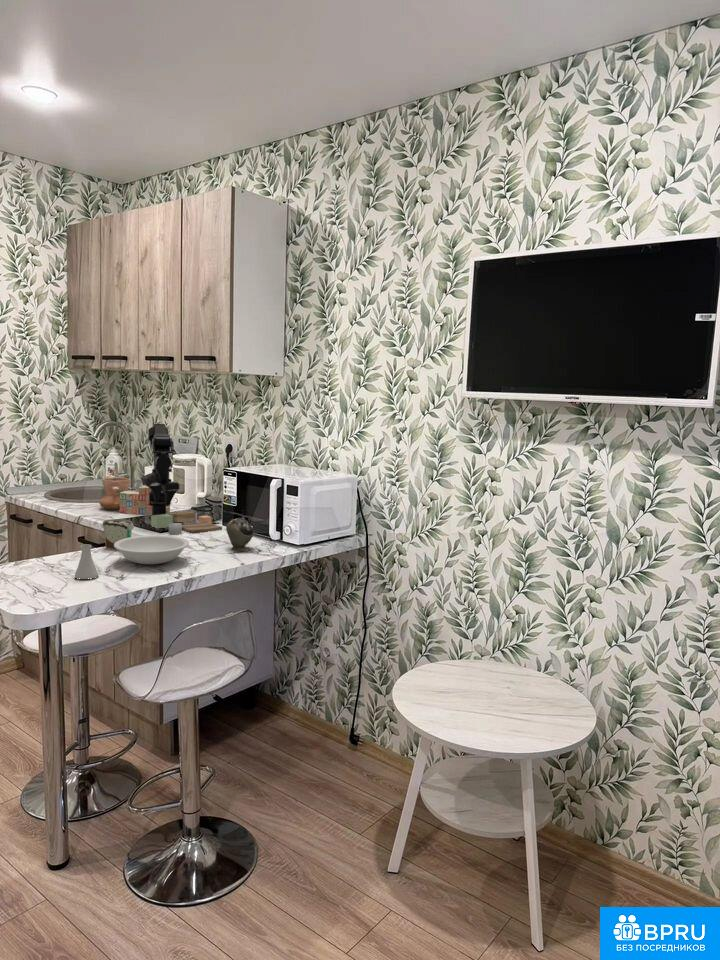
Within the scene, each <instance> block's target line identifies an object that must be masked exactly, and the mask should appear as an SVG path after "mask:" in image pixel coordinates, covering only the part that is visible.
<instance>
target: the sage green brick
mask: <svg viewBox="0 0 720 960" xmlns="http://www.w3.org/2000/svg"><path fill="white" fill-rule="evenodd" d="M150 517H151V519H150V520H151V521H150V527H151V526H152V527H155V528H161V527H169V523H173V516H172V514H161V515H150ZM152 527H151V528H152Z"/></svg>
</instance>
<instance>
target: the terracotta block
mask: <svg viewBox="0 0 720 960" xmlns="http://www.w3.org/2000/svg"><path fill="white" fill-rule="evenodd" d="M212 517H213V516H210V515H200V516H198V519H197V520H198V522H199V523H201V522H209V523H212V524H213V522H212V519H213V518H212ZM198 522H197V523H198Z"/></svg>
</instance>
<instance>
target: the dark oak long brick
mask: <svg viewBox="0 0 720 960" xmlns="http://www.w3.org/2000/svg"><path fill="white" fill-rule="evenodd" d="M171 516H173V522H184V523H186V522H185V521H190V522H194V521H195V512H194V511H192V510H186V511H178V512H172V513H171ZM193 520H194V521H193Z"/></svg>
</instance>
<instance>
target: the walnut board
mask: <svg viewBox="0 0 720 960" xmlns="http://www.w3.org/2000/svg"><path fill="white" fill-rule="evenodd" d="M183 530H184V531H183ZM222 530H223V527H222V526H221V525H217V524H214V523H213V522H212V523H209V522H201V523H198V522H196V523H195V522H194V523H186V524H185V523H184V524H182V531H183V532H185V531H186V533H188V532H189V533H188V534H191V533H192V534H191V535H193V533H194V534H200V532H201V533H206V532H208V531H209V532H214V531H215V532H216V531H222Z"/></svg>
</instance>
